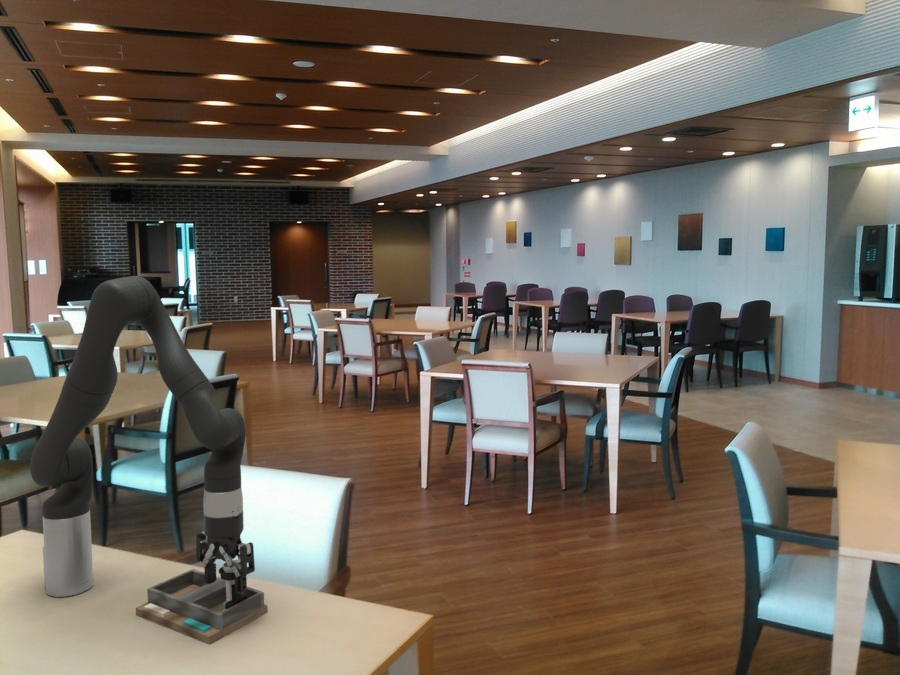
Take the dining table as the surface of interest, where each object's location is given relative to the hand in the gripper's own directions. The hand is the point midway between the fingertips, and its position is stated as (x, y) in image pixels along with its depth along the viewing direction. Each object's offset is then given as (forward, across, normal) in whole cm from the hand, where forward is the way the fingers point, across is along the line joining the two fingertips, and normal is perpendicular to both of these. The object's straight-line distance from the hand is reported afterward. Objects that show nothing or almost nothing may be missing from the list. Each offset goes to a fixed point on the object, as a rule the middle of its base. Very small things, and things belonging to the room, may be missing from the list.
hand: (225, 587), depth 145 cm
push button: (+5, +2, 0) cm, 5 cm away
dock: (+7, -6, -1) cm, 9 cm away
